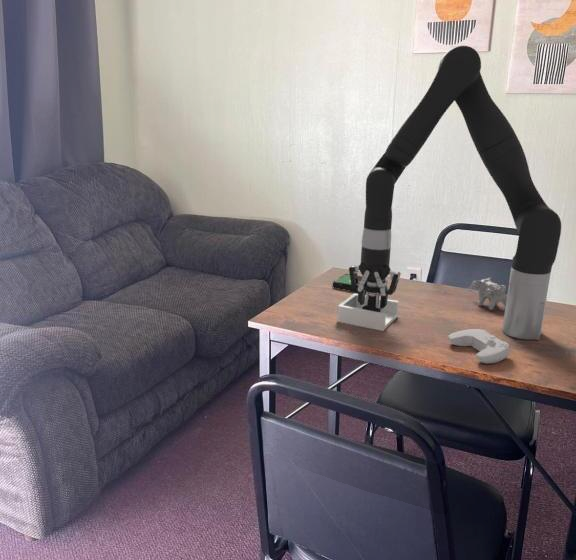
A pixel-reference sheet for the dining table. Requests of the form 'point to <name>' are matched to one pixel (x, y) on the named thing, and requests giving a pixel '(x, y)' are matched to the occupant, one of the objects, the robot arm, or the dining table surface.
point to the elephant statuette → (489, 292)
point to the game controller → (481, 344)
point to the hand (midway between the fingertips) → (371, 305)
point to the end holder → (367, 314)
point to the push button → (372, 297)
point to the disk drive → (346, 283)
